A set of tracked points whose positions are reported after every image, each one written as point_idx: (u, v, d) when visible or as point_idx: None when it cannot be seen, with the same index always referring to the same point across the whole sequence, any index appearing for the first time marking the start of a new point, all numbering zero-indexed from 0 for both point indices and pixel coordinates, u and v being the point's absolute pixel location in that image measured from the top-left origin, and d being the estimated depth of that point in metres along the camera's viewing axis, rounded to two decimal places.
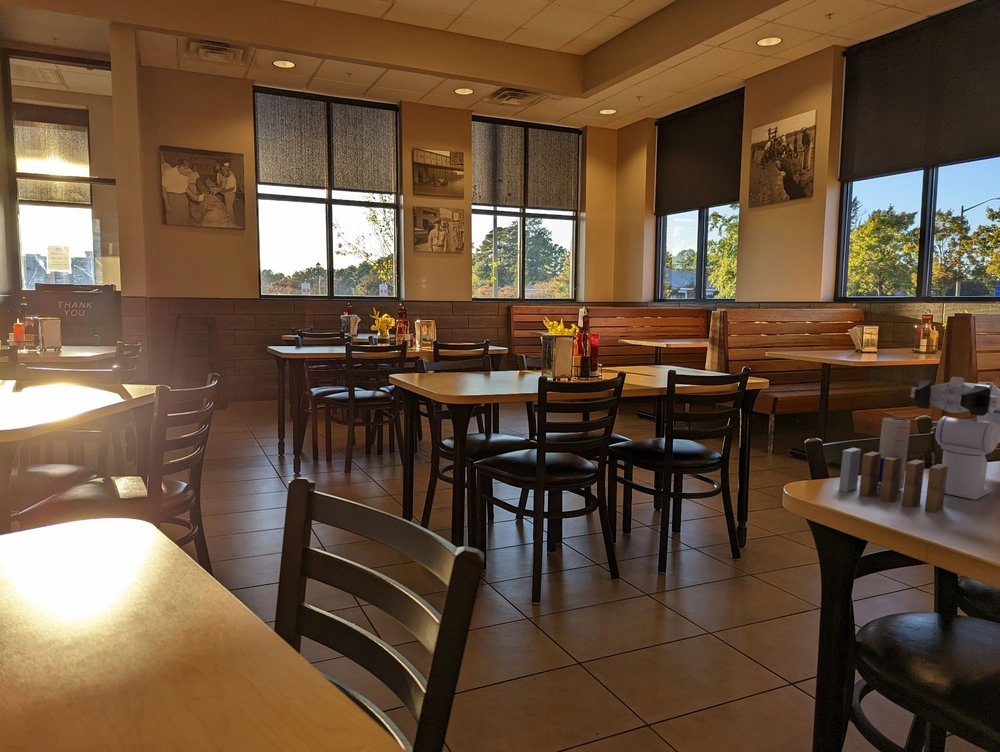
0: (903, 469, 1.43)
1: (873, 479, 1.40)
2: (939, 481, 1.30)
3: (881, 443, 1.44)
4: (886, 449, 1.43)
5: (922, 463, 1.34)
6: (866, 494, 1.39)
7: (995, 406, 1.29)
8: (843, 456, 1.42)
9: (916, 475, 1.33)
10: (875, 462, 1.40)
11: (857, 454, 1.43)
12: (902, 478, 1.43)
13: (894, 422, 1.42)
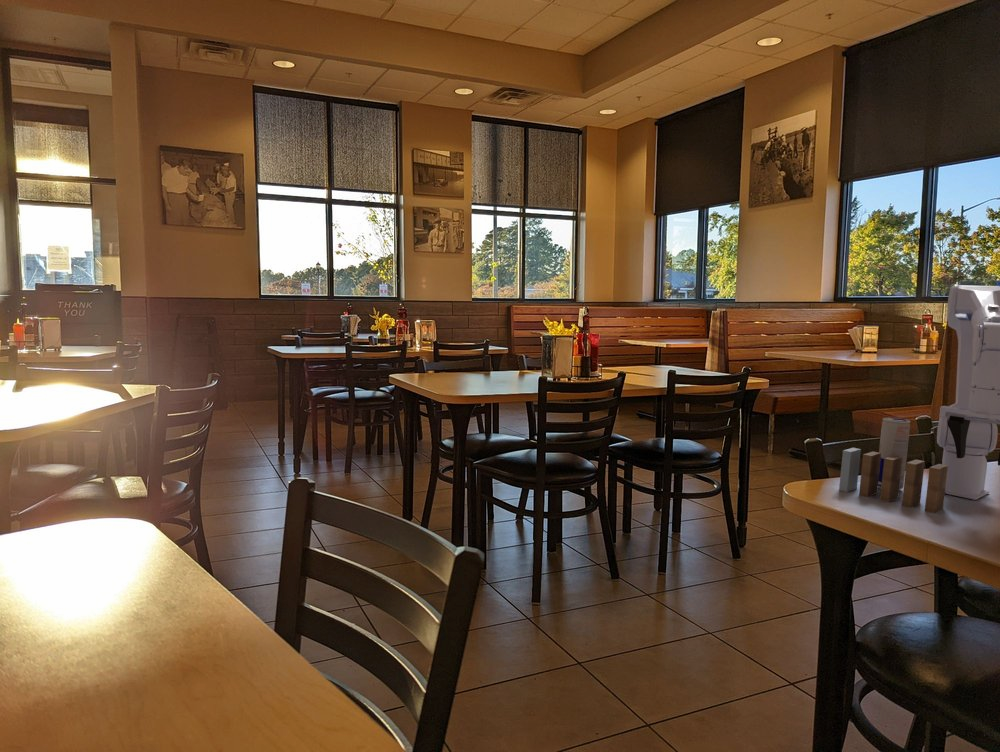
0: (903, 469, 1.43)
1: (873, 479, 1.40)
2: (939, 481, 1.30)
3: (881, 443, 1.44)
4: (886, 449, 1.43)
5: (922, 463, 1.34)
6: (866, 494, 1.39)
7: None
8: (843, 456, 1.42)
9: (916, 475, 1.33)
10: (875, 462, 1.40)
11: (857, 454, 1.43)
12: (902, 478, 1.43)
13: (894, 422, 1.42)
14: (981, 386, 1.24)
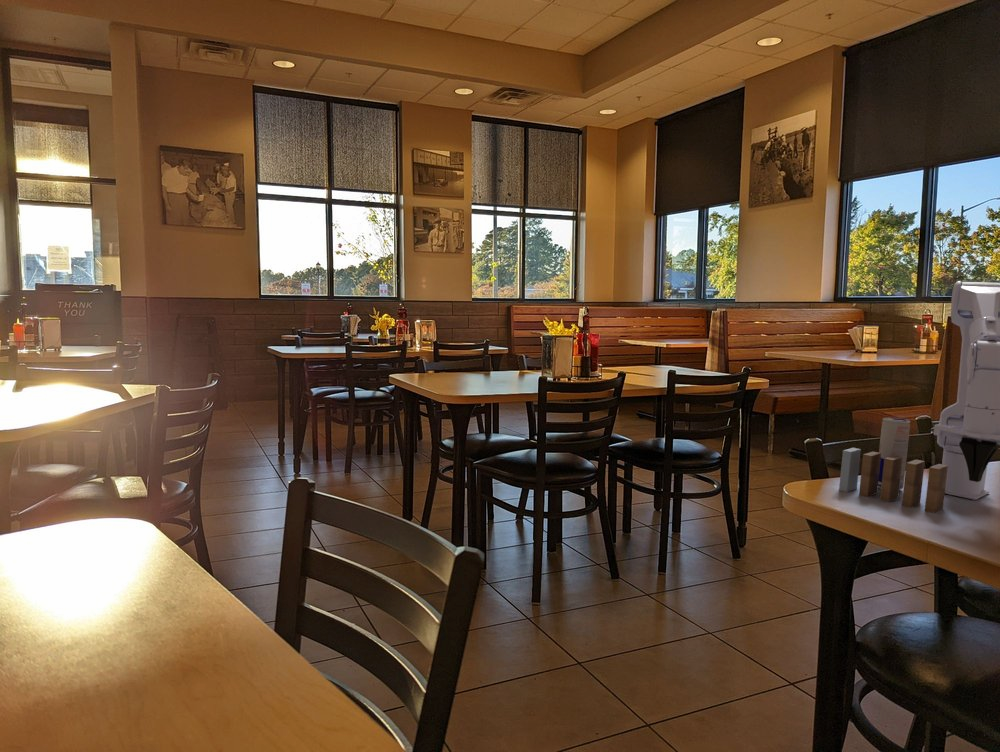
0: (903, 469, 1.43)
1: (873, 479, 1.40)
2: (939, 481, 1.30)
3: (881, 443, 1.44)
4: (886, 449, 1.43)
5: (922, 463, 1.34)
6: (866, 494, 1.39)
7: None
8: (843, 456, 1.42)
9: (916, 475, 1.33)
10: (875, 462, 1.40)
11: (857, 454, 1.43)
12: (902, 478, 1.43)
13: (894, 422, 1.42)
14: (975, 405, 1.24)
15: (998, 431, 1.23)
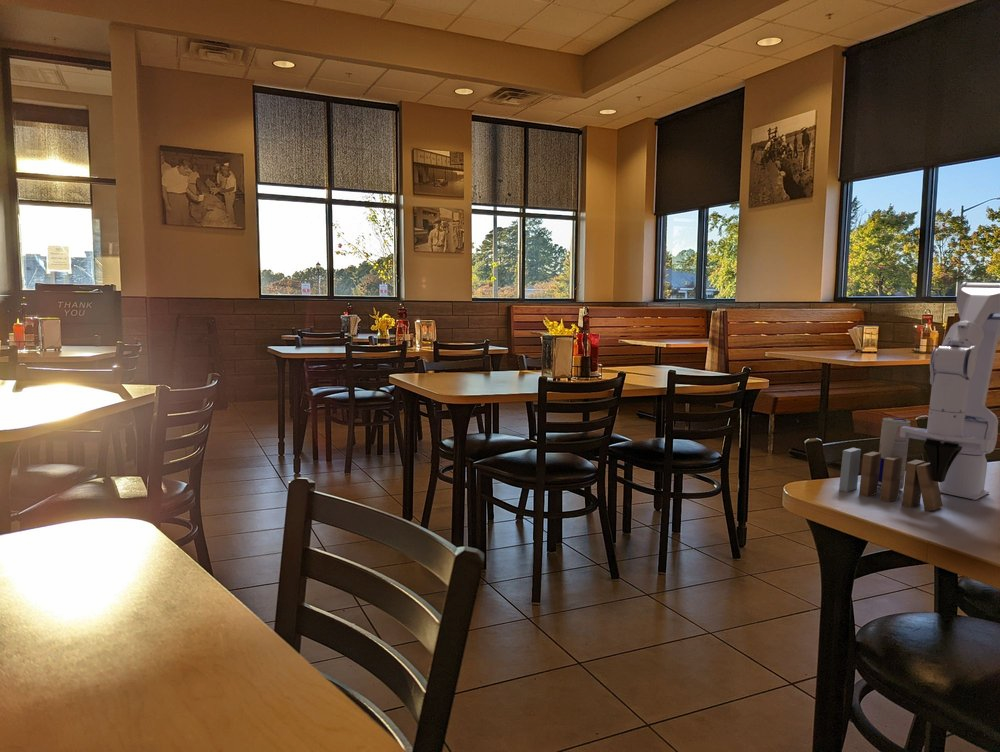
0: (903, 469, 1.43)
1: (873, 479, 1.40)
2: (929, 477, 1.31)
3: (881, 443, 1.44)
4: (886, 449, 1.43)
5: (922, 463, 1.34)
6: (866, 494, 1.39)
7: (989, 449, 1.25)
8: (843, 456, 1.42)
9: (916, 475, 1.33)
10: (875, 462, 1.40)
11: (857, 454, 1.43)
12: (902, 478, 1.43)
13: (894, 422, 1.42)
14: (933, 407, 1.29)
15: (960, 433, 1.27)
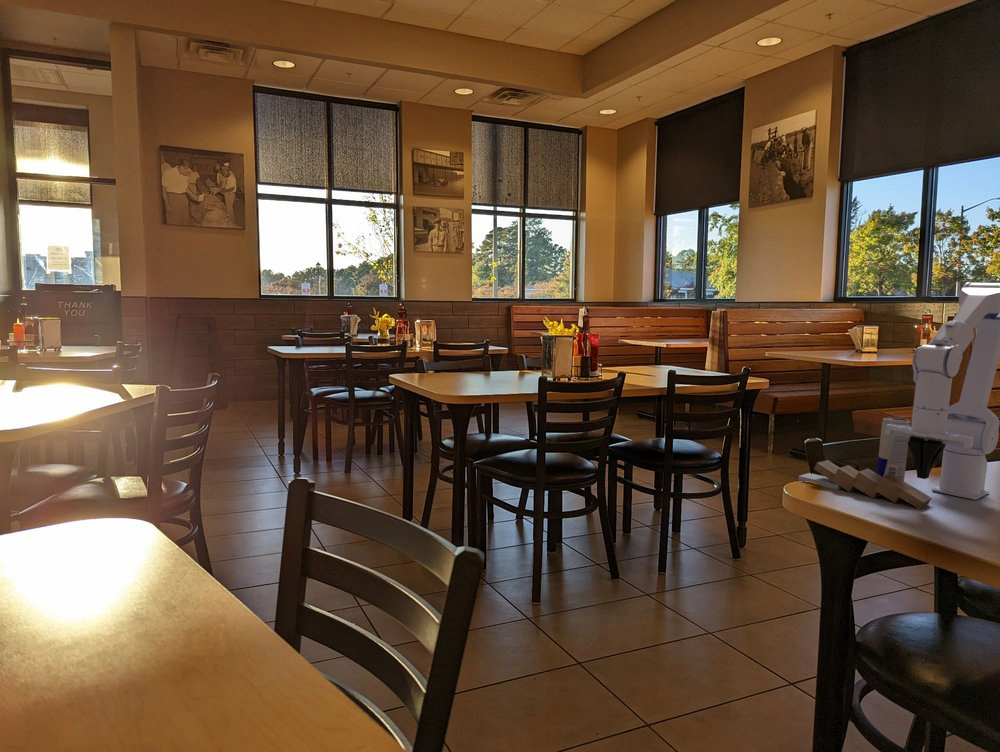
0: (903, 469, 1.43)
1: None
2: (895, 483, 1.35)
3: (881, 443, 1.44)
4: (886, 449, 1.43)
5: (867, 469, 1.42)
6: (850, 485, 1.41)
7: (971, 446, 1.27)
8: None
9: (871, 477, 1.39)
10: (829, 465, 1.47)
11: (809, 474, 1.51)
12: (902, 478, 1.43)
13: (894, 422, 1.42)
14: (916, 405, 1.31)
15: (943, 431, 1.29)
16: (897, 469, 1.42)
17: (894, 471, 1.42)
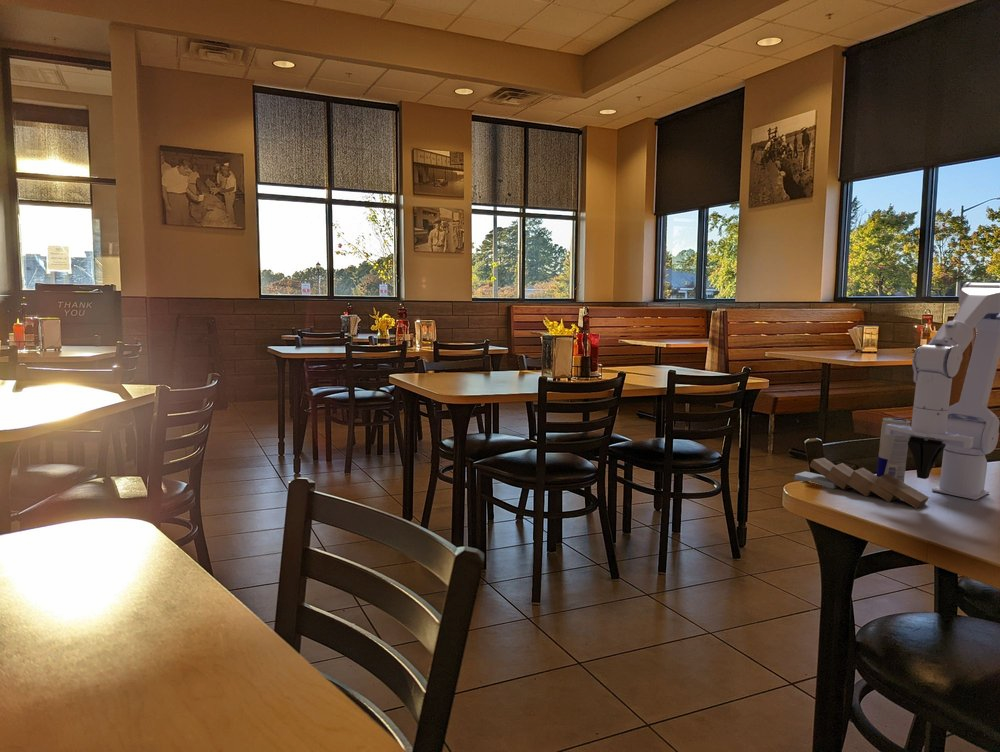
0: (903, 469, 1.43)
1: None
2: (892, 483, 1.36)
3: (881, 443, 1.44)
4: (886, 449, 1.43)
5: (862, 469, 1.42)
6: (844, 482, 1.42)
7: (971, 446, 1.27)
8: None
9: (866, 476, 1.39)
10: (825, 462, 1.48)
11: (805, 473, 1.52)
12: (902, 478, 1.43)
13: (894, 422, 1.42)
14: (916, 405, 1.31)
15: (943, 431, 1.29)
16: (897, 469, 1.42)
17: (894, 471, 1.42)
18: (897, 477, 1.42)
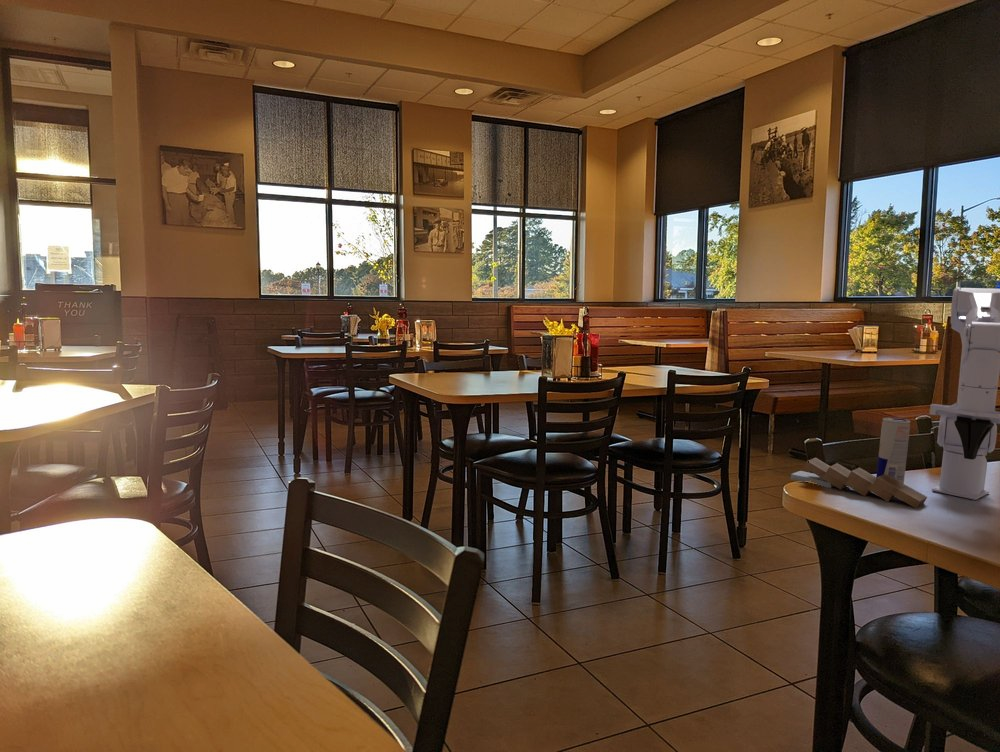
0: (903, 469, 1.43)
1: None
2: (891, 483, 1.36)
3: (881, 443, 1.44)
4: (886, 449, 1.43)
5: (858, 469, 1.43)
6: (842, 483, 1.42)
7: None
8: None
9: (863, 476, 1.39)
10: (818, 463, 1.48)
11: (801, 472, 1.52)
12: (902, 478, 1.43)
13: (894, 422, 1.42)
14: (968, 384, 1.27)
15: (992, 409, 1.26)
16: (897, 469, 1.42)
17: (894, 471, 1.42)
18: (897, 477, 1.42)
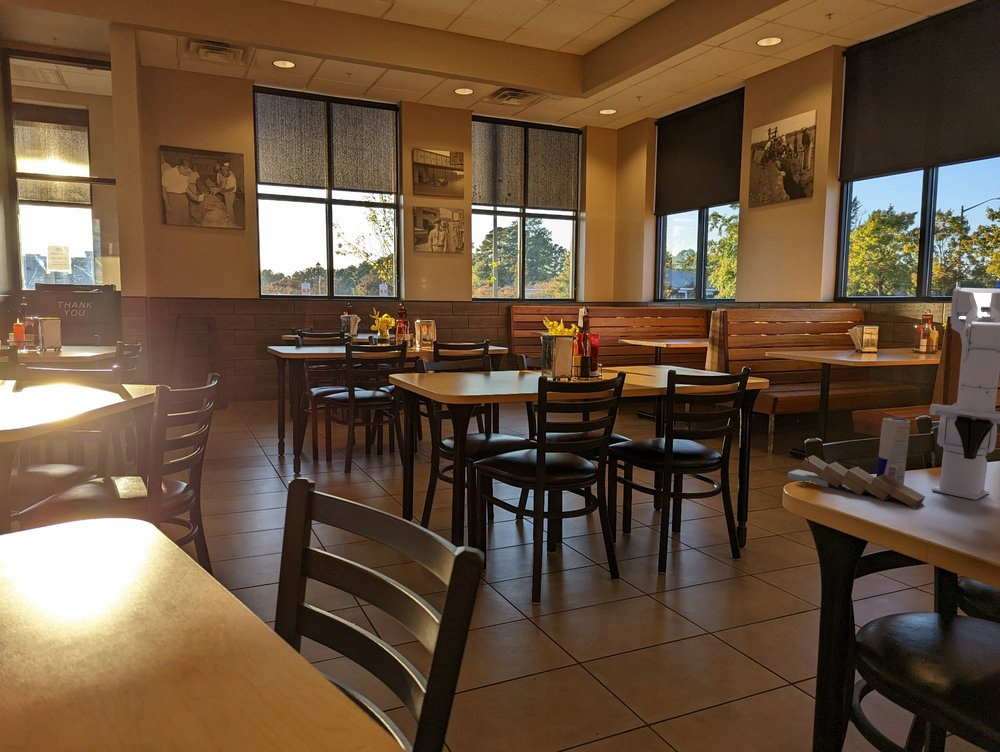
0: (903, 469, 1.43)
1: None
2: (889, 483, 1.36)
3: (881, 443, 1.44)
4: (886, 449, 1.43)
5: (856, 468, 1.43)
6: None
7: None
8: (793, 479, 1.50)
9: (860, 475, 1.40)
10: (815, 460, 1.48)
11: (798, 471, 1.52)
12: (902, 478, 1.43)
13: (894, 422, 1.42)
14: (968, 384, 1.27)
15: (992, 409, 1.26)
16: (897, 469, 1.42)
17: (894, 471, 1.42)
18: (897, 477, 1.42)
